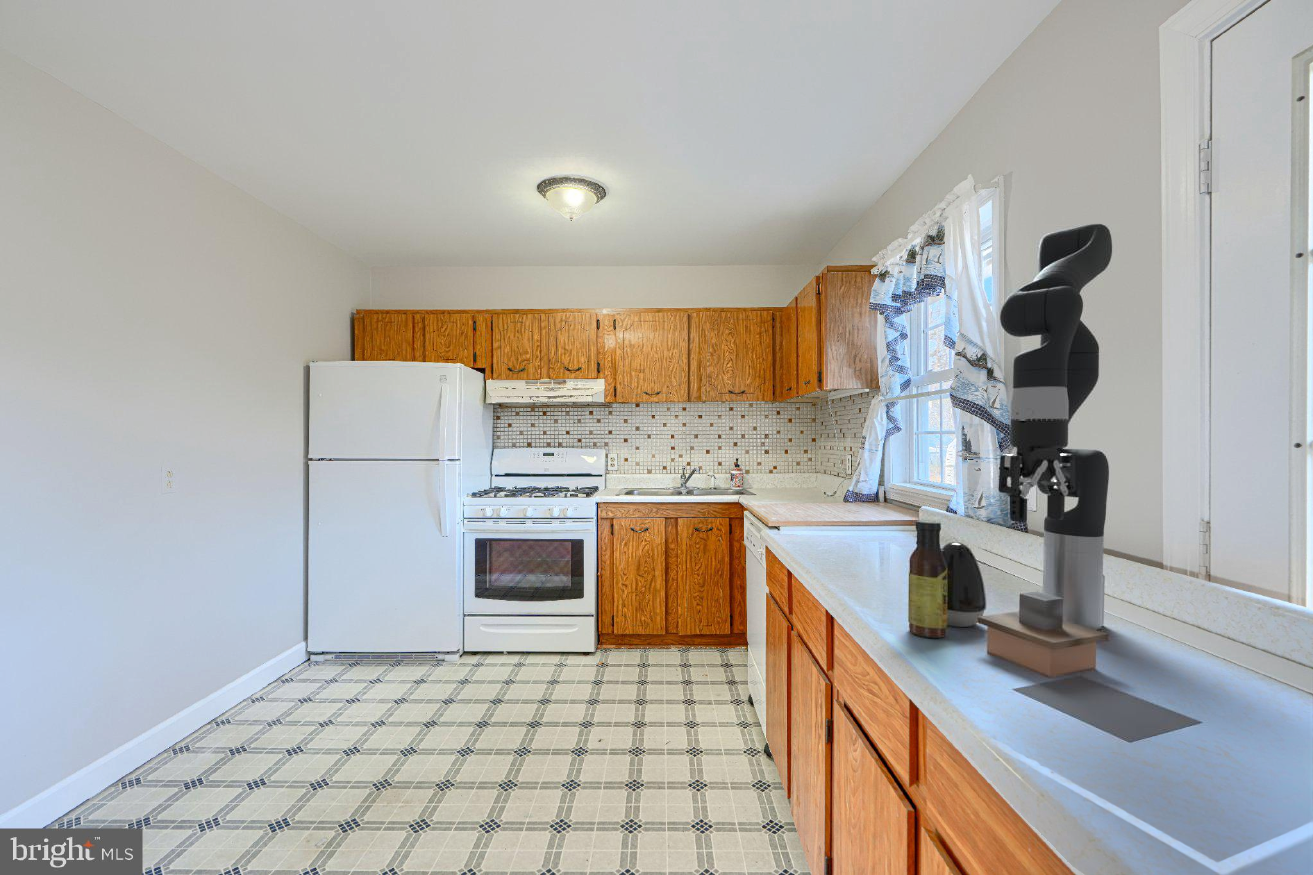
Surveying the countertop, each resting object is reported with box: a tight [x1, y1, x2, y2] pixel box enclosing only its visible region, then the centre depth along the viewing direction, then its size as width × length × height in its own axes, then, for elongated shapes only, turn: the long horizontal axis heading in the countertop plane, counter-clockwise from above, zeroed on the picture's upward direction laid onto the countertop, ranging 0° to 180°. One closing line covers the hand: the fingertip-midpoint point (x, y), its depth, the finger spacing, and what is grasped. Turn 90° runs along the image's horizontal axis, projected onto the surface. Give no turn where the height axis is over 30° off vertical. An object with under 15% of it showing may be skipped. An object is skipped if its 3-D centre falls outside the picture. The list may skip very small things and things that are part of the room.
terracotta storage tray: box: [986, 626, 1097, 679], centre depth 87 cm, size 10×10×5 cm
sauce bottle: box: [907, 519, 948, 639], centre depth 100 cm, size 7×6×20 cm
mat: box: [1012, 675, 1203, 743], centre depth 73 cm, size 14×14×1 cm
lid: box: [977, 591, 1109, 650], centre depth 87 cm, size 12×12×6 cm
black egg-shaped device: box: [941, 541, 988, 628], centre depth 106 cm, size 10×10×15 cm
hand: (1037, 520), depth 89 cm, fingers open, 8 cm apart
